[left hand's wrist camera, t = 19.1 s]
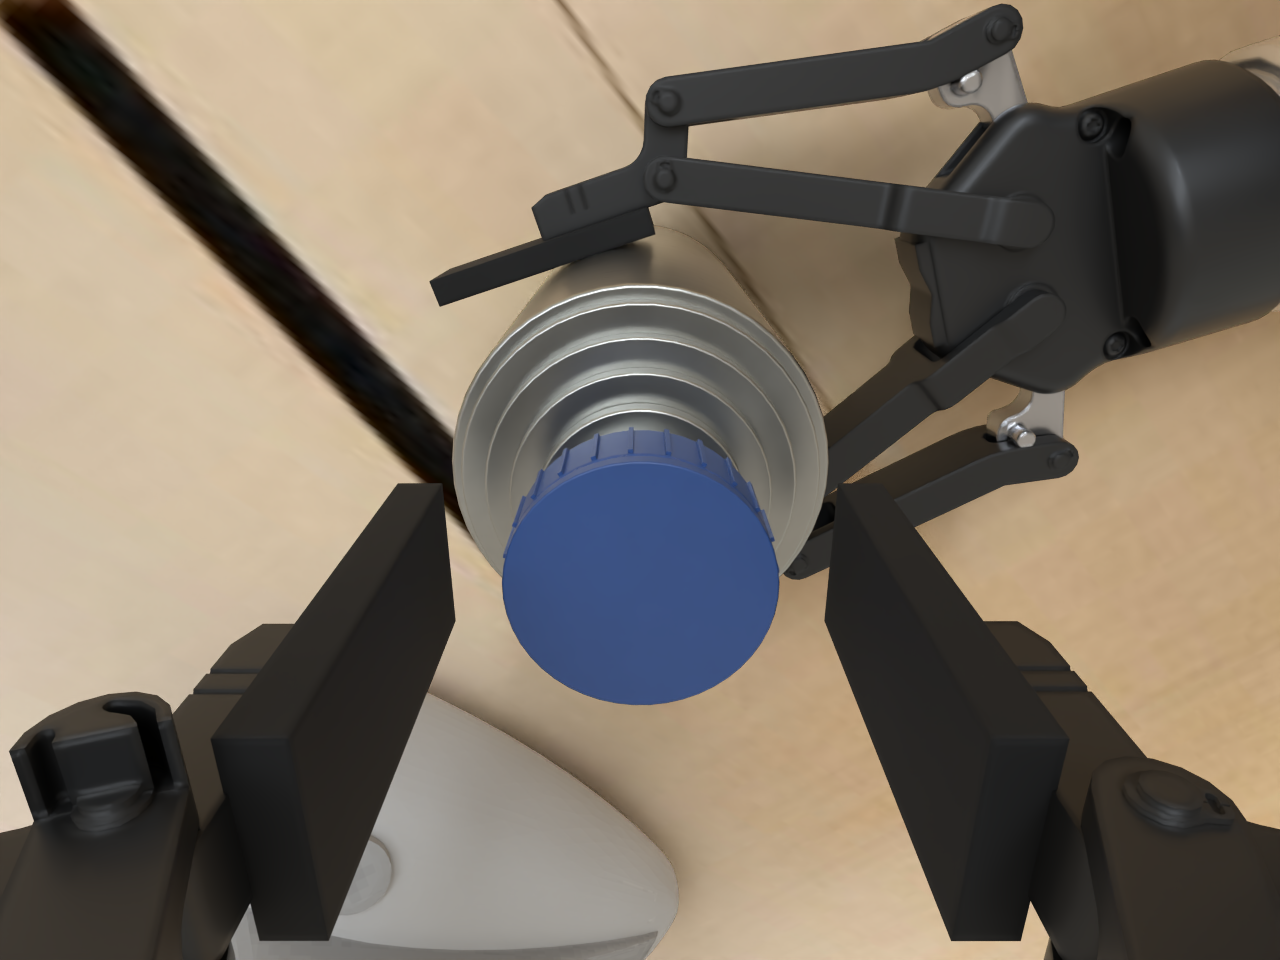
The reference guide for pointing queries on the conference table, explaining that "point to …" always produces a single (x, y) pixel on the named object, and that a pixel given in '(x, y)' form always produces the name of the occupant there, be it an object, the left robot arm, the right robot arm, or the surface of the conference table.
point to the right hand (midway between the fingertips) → (500, 422)
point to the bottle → (641, 386)
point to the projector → (491, 862)
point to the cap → (640, 568)
